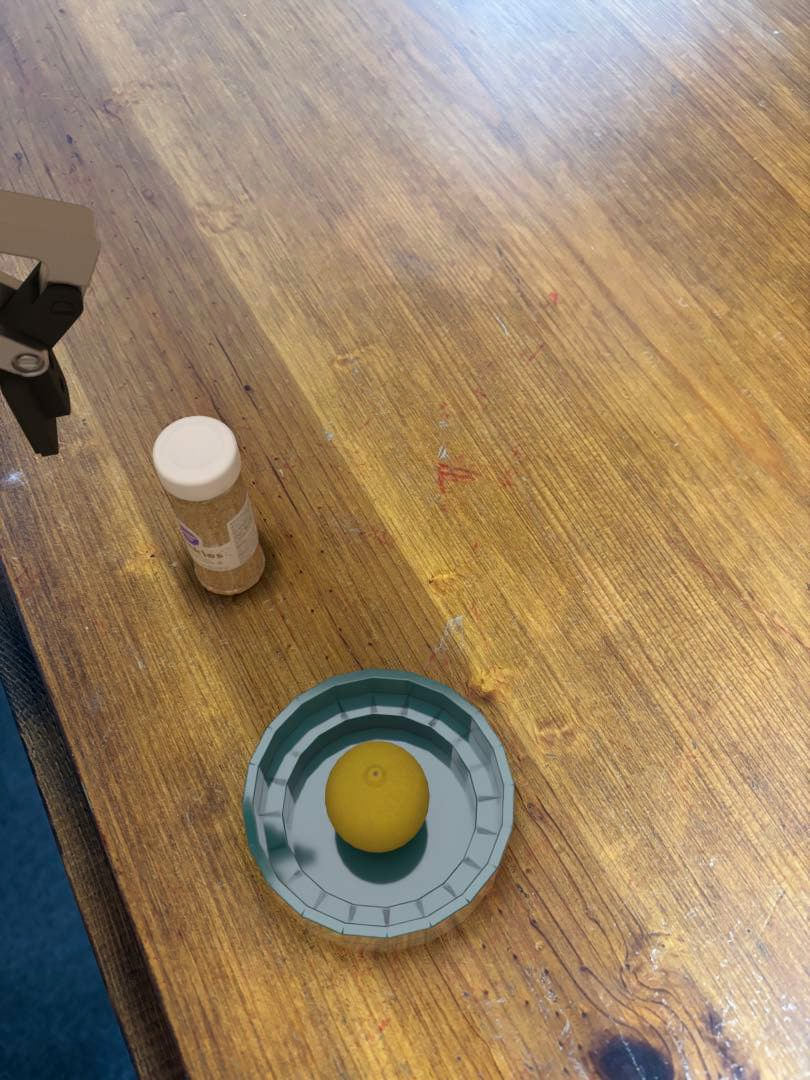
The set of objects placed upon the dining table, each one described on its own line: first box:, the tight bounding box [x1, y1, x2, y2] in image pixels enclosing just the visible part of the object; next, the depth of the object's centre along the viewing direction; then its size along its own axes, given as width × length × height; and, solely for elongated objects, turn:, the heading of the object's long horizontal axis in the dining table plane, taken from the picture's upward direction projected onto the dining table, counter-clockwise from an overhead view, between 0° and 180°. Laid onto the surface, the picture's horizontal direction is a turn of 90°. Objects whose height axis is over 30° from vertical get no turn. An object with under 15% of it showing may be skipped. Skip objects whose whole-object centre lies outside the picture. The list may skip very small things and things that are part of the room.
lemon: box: [325, 741, 430, 853], centre depth 56 cm, size 6×6×8 cm
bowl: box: [241, 667, 516, 953], centre depth 58 cm, size 14×14×5 cm
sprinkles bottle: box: [152, 415, 266, 596], centre depth 62 cm, size 5×5×13 cm
